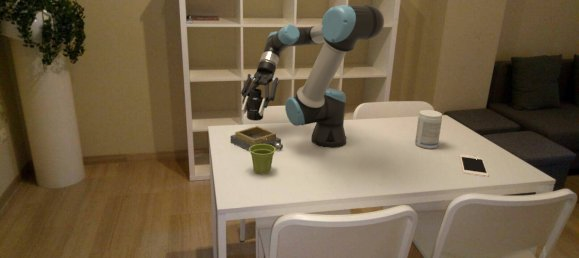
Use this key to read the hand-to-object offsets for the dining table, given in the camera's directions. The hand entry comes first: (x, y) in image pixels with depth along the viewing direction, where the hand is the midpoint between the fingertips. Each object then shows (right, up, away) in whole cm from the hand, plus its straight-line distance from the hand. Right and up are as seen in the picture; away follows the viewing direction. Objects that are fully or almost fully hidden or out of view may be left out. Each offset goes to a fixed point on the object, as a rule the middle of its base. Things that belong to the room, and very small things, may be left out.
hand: (251, 112), depth 175 cm
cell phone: (+87, -21, -4) cm, 90 cm away
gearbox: (+2, -13, +6) cm, 15 cm away
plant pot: (+5, -22, -16) cm, 28 cm away
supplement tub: (+74, -14, +14) cm, 77 cm away
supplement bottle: (+1, -2, +5) cm, 5 cm away
